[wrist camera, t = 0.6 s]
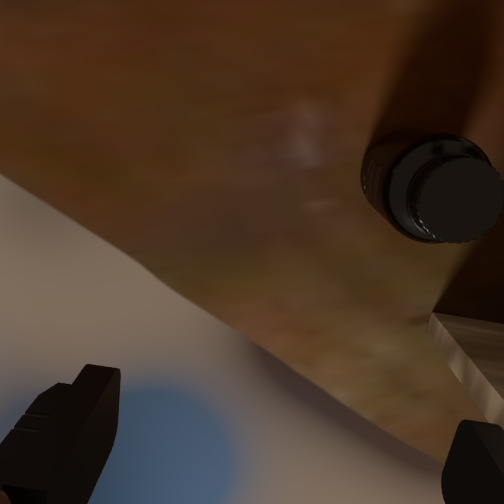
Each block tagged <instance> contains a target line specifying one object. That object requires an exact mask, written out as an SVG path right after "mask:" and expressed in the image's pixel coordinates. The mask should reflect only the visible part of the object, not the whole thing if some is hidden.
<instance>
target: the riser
mask: <svg viewBox="0 0 504 504" xmlns="http://www.w3.org/2000/svg"><path fill="white" fill-rule="evenodd" d="M426 334H427V336H428V337H429V339H430V340H431V341H432V343H433V344H434V346H435V347H436V348H437V350H438V351H439V353H440V354H441V356H442V357H443V358H444V360H445V361H446V363H447V364H448V365H449V367H450V368H451V370H452V371H453V372H454V374H455V375H456V377H457V378H458V379H459V381H460V382H461V384H462V385H463V387H464V388H465V389H466V391H467V392H468V394H469V395H470V396H471V398H472V399H473V401H474V402H475V403H476V405H477V406H478V408H479V409H480V410H481V412H482V413H483V415H484V416H485V418H486V419H487V420H488V422H489V423H492V424H498V425H500V426H501V427H502V428H503V430H504V324H501V323H495V322H489V321H483V320H477V319H470V318H464V317H458V316H452V315H446V314H440V313H434V312H432V313H431V317H430V320H429V323H428V326H427V330H426Z"/></svg>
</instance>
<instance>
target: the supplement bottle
mask: <svg viewBox="0 0 504 504" xmlns="http://www.w3.org/2000/svg"><path fill="white" fill-rule="evenodd" d="M360 179H361V187H362V190H363V193H364V195H365V197H366V199H367V200H368V202H369V203H370V204H371V205H372V207H373V208H374V209H375V210H376V211H377V212H378V213H379V214H381V215H382V216H383V217H384V218H385V219H386V220H387V221H388V222H389V223H390V224H391V225H392V226H393V227H394V228H395V229H396V230H397V231H399V232H400V233H401V234H403V235H404V236H406V237H408V238H410V239H412V240H415V241H418V242H422V243H430V244H438V243H445V242H448V243H458V244H459V243H462V242H469V241H470V240H474V239H477V238H478V237H479V236H482V235H484V234H485V233H486V231H488V230H490V229H491V228H492V226H493V225H494V224H495V223H497V220H498V218H499V217H500V216H501V214H502V209H503V208H504V186H503V185H504V181H503V180H502V179H501V178H500V174H499V173H497V172H496V170H495V168H494V167H492V165H491V162H490V160H489V159H488V157H487V155H486V154H485V153H484V152H483V150H482V149H481V148H480V147H478V146H477V145H476V144H475V143H473V142H472V141H470V140H468V139H466V138H463V137H461V136H457V135H453V134H447V133H439V132H431V131H422V130H400V131H396V132H393V133H390V134H388V135H386V136H384V137H383V138H381V139H380V140H379V141H377V142H376V143H375V144H374V145H373V146H372V148H371V149H370V150H369V152H368V153H367V155H366V157H365V159H364V161H363V164H362V168H361V176H360Z"/></svg>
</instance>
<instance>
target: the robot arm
mask: <svg viewBox="0 0 504 504" xmlns="http://www.w3.org/2000/svg"><path fill="white" fill-rule="evenodd" d="M120 380H121V373H120V369H118V368H112V367H105V366H98V365H92V364H86V365H85V366H84V368H83V369H82V370H81V372H80V373H79V375H78V376H77V378H76V379H75V381H74V382H73V383H72V384H65V383H57V384H55V385H54V386H52V387H51V388H49V389H48V390H46V391H45V392H43V393H41V394H40V395H38V397H37V398H36V399H35V400H34V402H33V403H32V404H31V405H30V407H29V408H28V409H27V411H26V412H25V415H23V416H22V417H21V418H20V420H19V421H18V422H17V423H16V425H15V427H14V429H12V430H11V431H10V432H9V434H8V435H7V436H6V437H5V439H4V440H3V441H2V442H1V444H0V504H87V503H88V501H89V499H90V497H91V495H92V493H93V490H94V488H95V486H96V484H97V481H98V479H99V477H100V475H101V473H102V470H103V468H104V466H105V464H106V462H107V459H108V457H109V455H110V453H111V450H112V447H113V445H114V441H115V437H116V433H117V427H118V415H119V414H118V413H119V398H120ZM441 488H442V495H443V499H444V501H445V504H504V430H503V428H502V427H501V426H500V425H498V424H492V423H485V422H479V421H472V420H462V421H461V422H460V423H459V425H458V428H457V430H456V433H455V436H454V439H453V442H452V445H451V448H450V451H449V454H448V457H447V459H446V462H445V465H444V468H443V472H442V478H441Z"/></svg>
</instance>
